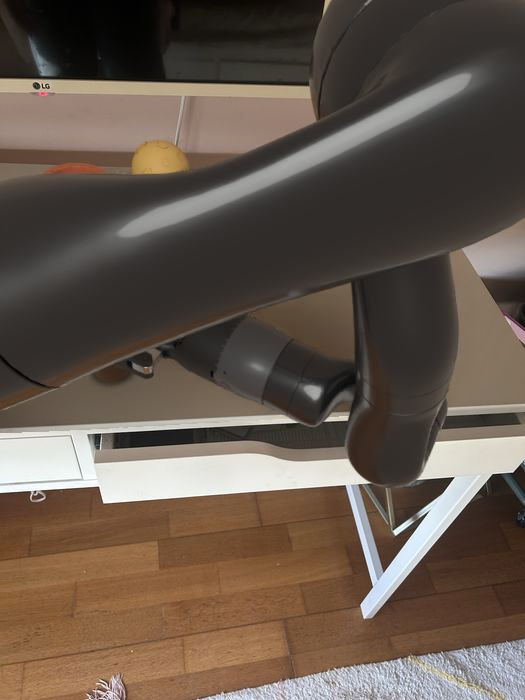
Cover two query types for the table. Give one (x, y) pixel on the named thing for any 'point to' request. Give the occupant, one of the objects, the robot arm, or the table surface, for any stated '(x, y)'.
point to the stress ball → (158, 158)
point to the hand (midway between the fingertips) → (107, 290)
